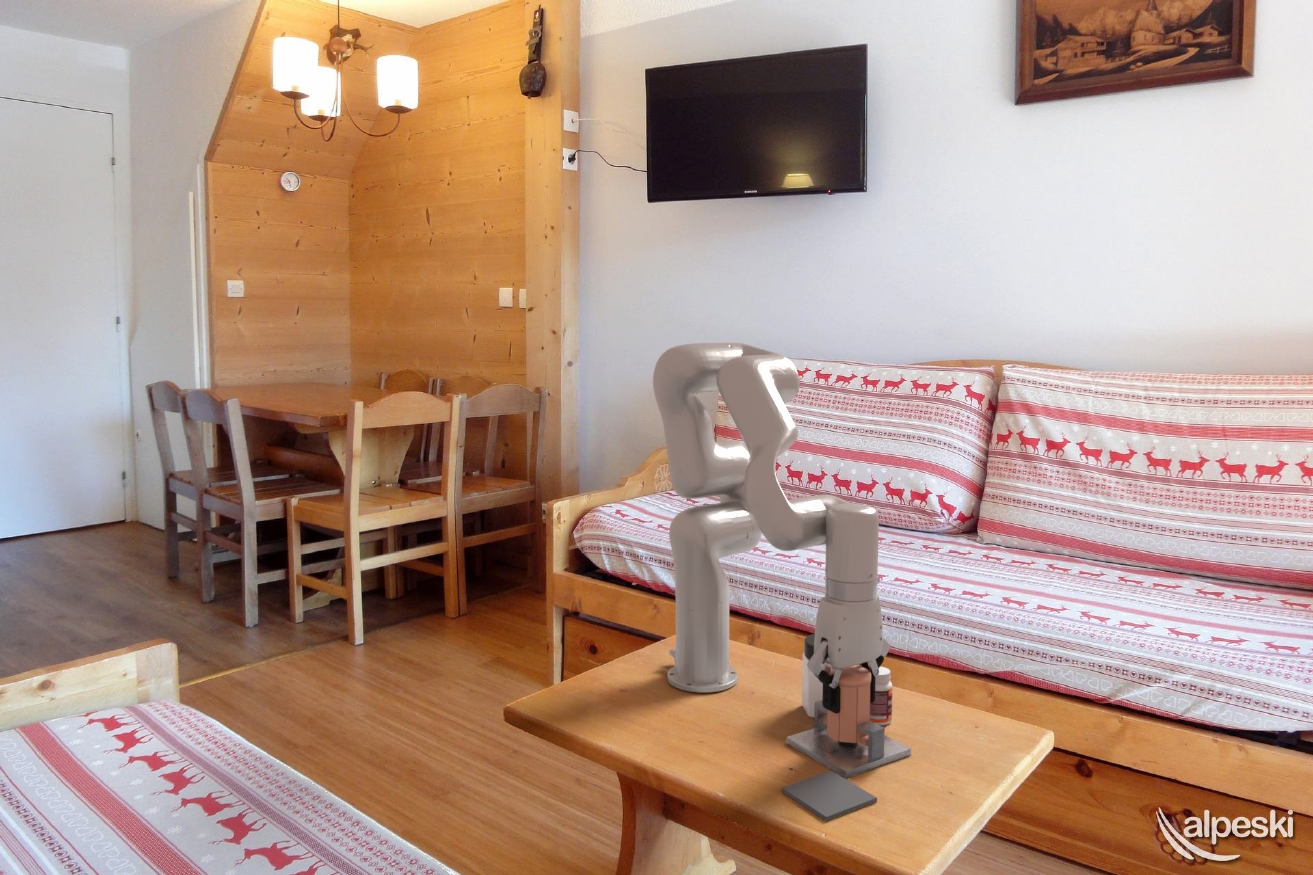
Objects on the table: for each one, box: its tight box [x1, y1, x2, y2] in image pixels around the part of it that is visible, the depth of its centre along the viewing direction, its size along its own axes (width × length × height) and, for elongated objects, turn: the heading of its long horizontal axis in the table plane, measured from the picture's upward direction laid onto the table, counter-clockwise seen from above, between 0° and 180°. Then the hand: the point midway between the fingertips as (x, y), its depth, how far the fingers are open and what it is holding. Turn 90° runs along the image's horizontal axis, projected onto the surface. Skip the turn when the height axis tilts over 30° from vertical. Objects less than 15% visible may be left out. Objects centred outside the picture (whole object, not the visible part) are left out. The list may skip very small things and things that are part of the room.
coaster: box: [781, 770, 878, 822], centre depth 127 cm, size 9×9×1 cm
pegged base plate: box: [786, 700, 912, 779], centre depth 141 cm, size 13×13×11 cm
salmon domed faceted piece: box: [823, 665, 871, 746], centre depth 140 cm, size 9×6×10 cm
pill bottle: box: [870, 666, 893, 727], centre depth 151 cm, size 5×5×8 cm
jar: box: [801, 633, 857, 718], centre depth 154 cm, size 9×8×12 cm
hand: (848, 703), depth 140 cm, fingers closed on salmon domed faceted piece, 6 cm apart
